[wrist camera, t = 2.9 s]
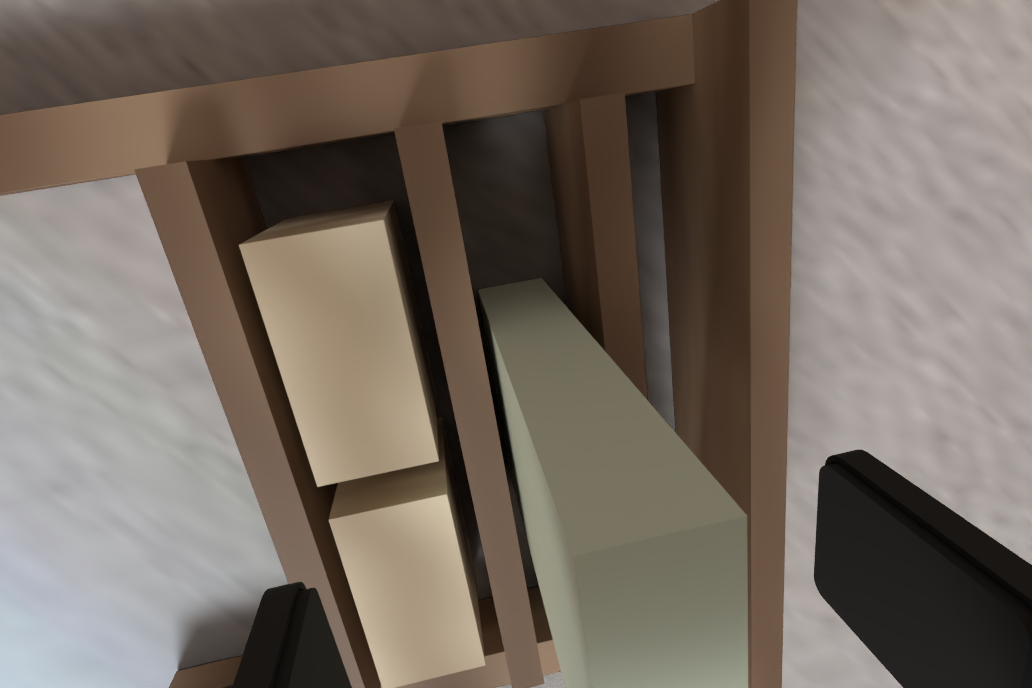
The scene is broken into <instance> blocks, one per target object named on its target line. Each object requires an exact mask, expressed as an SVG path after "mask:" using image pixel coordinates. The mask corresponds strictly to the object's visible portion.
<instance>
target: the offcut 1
mask: <svg viewBox="0 0 1032 688" xmlns="http://www.w3.org/2000/svg"><path fill="white" fill-rule="evenodd" d="M239 247H240V250H241V253H242V256H243V260H244V263H245V266H246V269H247V272H248V275H249V278H250V281H251V284H252V287H253V290H254V293H255V296H256V299H257V303H258V306H259V309H260V312H261V315H262V318H263V321H264V324H265V327H266V330H267V333H268V336H269V339H270V343H271V346H272V349H273V352H274V355H275V358H276V361H277V364H278V367H279V370H280V373H281V376H282V379H283V383H284V386H285V389H286V392H287V395H288V398H289V401H290V404H291V407H292V410H293V413H294V416H295V419H296V423H297V426H298V429H299V432H300V435H301V438H302V441H303V444H304V447H305V450H306V453H307V456H308V459H309V463H310V466H311V469H312V472H313V475H314V478H315V481H316V484H317V487H320V486H324V485H329V484H334V483H339V482H343V481H348V480H353V479H357V478H362V477H367V476H372V475H376V474H381V473H386V472H390V471H395V470H400V469H404V468H409V467H414V466H419V465H423V464H428V463H433V462H437V461H439V451H438V429H437V408H436V389H435V384H434V380H433V375H432V371H431V366H430V362H429V357H428V353H427V348H426V344H425V339H424V335H423V330H422V326H421V321H420V317H419V312H418V307H417V303H416V298H415V294H414V289H413V285H412V280H411V276H410V271H409V267H408V262H407V258H406V253H405V249H404V244H403V240H402V235H401V231H400V226H399V222H398V217H397V213H396V208H395V203H394V200H393V201H387V202H381V203H376V204H370V205H364V206H358V207H352V208H346V209H340V210H334V211H328V212H322V213H316V214H310V215H304V216H298V217H293V218H287V219H285V220H283V221H281V222H280V223H278V224H276V225H274V226H272V227H270V228H269V229H267V230H265V231H263V232H261V233H259V234H258V235H256V236H254V237H252V238H250V239H248V240H247V241H245V242H243V243H241V244H239Z"/></svg>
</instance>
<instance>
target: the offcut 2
mask: <svg viewBox="0 0 1032 688" xmlns="http://www.w3.org/2000/svg"><path fill="white" fill-rule="evenodd" d="M437 429H438V451H439V461H437V462H433V463H428V464H423V465H419V466H414V467H409V468H404V469H400V470H395V471H390V472H386V473H381V474H376V475H372V476H367V477H362V478H357V479H353V480H348V481H343V482H339V483H338V485H337V488H336V492H335V496H334V500H333V504H332V508H331V512H330V516H329V523H330V526H331V529H332V532H333V536H334V539H335V542H336V545H337V548H338V551H339V554H340V557H341V560H342V564H343V567H344V570H345V573H346V576H347V579H348V582H349V585H350V589H351V592H352V595H353V598H354V601H355V604H356V607H357V610H358V614H359V617H360V620H361V623H362V626H363V629H364V632H365V635H366V639H367V642H368V645H369V648H370V651H371V654H372V657H373V660H374V663H375V667H376V670H377V673H378V676H379V679H380V682H381V685H382V688H395V687H399V686H404V685H408V684H412V683H416V682H420V681H424V680H428V679H432V678H436V677H440V676H444V675H448V674H452V673H456V672H461V671H465V670H469V669H473V668H477V667H481V666H485V665H486V663H485V655H484V646H483V638H482V629H481V621H480V613H479V604H478V596H477V587H476V579H475V570H474V562H473V557H472V552H471V548H470V543H469V539H468V534H467V530H466V525H465V520H464V516H463V511H462V507H461V502H460V497H459V493H458V488H457V484H456V479H455V475H454V470H453V465H452V461H451V456H450V452H449V447H448V442H447V438H446V433H445V429H444V424H443V420H442V417H439V418H437Z"/></svg>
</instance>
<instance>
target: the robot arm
mask: <svg viewBox="0 0 1032 688" xmlns="http://www.w3.org/2000/svg"><path fill="white" fill-rule="evenodd" d="M814 580H815V584H816V587H817V589H818V591H819V593H820V594H821V596H822V597H823V598H824V599H825V601H826V602H827V603H828V604H829V605H830V606H831V607H832V608H833V610H834V611H835V612H836V613H837V614H838V615H839V616H840V617H841V618H842V620H843V621H844V622H845V623H846V624H847V625H848V626H849V627H850V629H851V630H852V631H853V632H854V633H855V634H856V635H857V636H858V637H859V639H860V640H861V641H862V642H863V643H864V644H865V645H866V646H867V648H868V649H869V650H870V651H871V652H872V653H873V654H874V655H875V656H876V658H877V659H878V660H879V661H880V662H881V663H882V664H883V665H884V667H885V668H886V669H887V670H888V671H889V672H890V673H891V674H892V675H893V677H894V678H895V679H896V680H897V681H898V682H899V683H900V684H901V686H902V687H903V688H1032V565H1031V564H1029V563H1028V562H1026V561H1025V560H1023V559H1022V558H1020V557H1019V556H1018V555H1016V554H1015V553H1013V552H1012V551H1010V550H1009V549H1007V548H1006V547H1004V546H1003V545H1002V544H1000V543H999V542H997V541H996V540H994V539H993V538H991V537H990V536H988V535H987V534H986V533H984V532H983V531H981V530H980V529H978V528H977V527H975V526H974V525H972V524H971V523H970V522H968V521H967V520H965V519H964V518H962V517H961V516H959V515H958V514H956V513H955V512H954V511H952V510H951V509H949V508H948V507H946V506H945V505H943V504H942V503H940V502H939V501H938V500H936V499H935V498H933V497H932V496H930V495H929V494H927V493H926V492H924V491H923V490H921V489H920V488H919V487H917V486H916V485H914V484H913V483H911V482H910V481H908V480H907V479H905V478H904V477H903V476H901V475H900V474H898V473H897V472H895V471H894V470H892V469H891V468H889V467H888V466H887V465H885V464H884V463H882V462H881V461H879V460H878V459H876V458H875V457H873V456H872V455H871V454H869V453H868V452H866V451H863V450H854V451H850V452H845V453H841V454H837V455H833V456H830V457H828V459H827V460H826V463H825V466H823V467H821V469H820V472H819V488H818V507H817V527H816V546H815V565H814ZM222 688H352V686H351V684H350V681H349V678H348V675H347V672H346V669H345V667H344V664H343V661H342V658H341V655H340V653H339V650H338V647H337V644H336V641H335V639H334V636H333V633H332V630H331V627H330V624H329V622H328V619H327V616H326V613H325V610H324V608H323V605H322V602H321V599H320V596H319V593H318V591H317V589H316V588H309V589H306V586H305V584H304V583H303V582H296V583H292V584H287V585H283V586H279V587H275V588H271V589H267V590H266V591H265V592H264V594H263V596H262V599H261V602H260V605H259V608H258V611H257V614H256V617H255V620H254V623H253V626H252V629H251V632H250V635H249V638H248V641H247V644H246V647H245V650H244V653H243V656H242V659H241V662H240V665H239V668H238V671H237V674H236V677H235V680H234V683H233V685H229V686H226V687H222Z"/></svg>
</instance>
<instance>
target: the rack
mask: <svg viewBox="0 0 1032 688" xmlns="http://www.w3.org/2000/svg"><path fill="white" fill-rule="evenodd" d="M796 20H797V0H720V1H718V2H716V3H714V4H712V5H710V6H708V7H706V8H703V9H701V10H699V11H697V12H695V13H693V14H688V15H681V16H674V17H668V18H661V19H654V20H647V21H640V22H633V23H626V24H620V25H613V26H606V27H599V28H592V29H585V30H579V31H572V32H565V33H558V34H551V35H544V36H537V37H531V38H524V39H517V40H510V41H503V42H496V43H490V44H483V45H476V46H469V47H462V48H455V49H448V50H442V51H435V52H428V53H421V54H414V55H407V56H401V57H394V58H387V59H380V60H373V61H366V62H359V63H353V64H346V65H339V66H332V67H325V68H318V69H312V70H305V71H298V72H291V73H284V74H277V75H271V76H264V77H257V78H250V79H243V80H236V81H229V82H223V83H216V84H209V85H202V86H195V87H188V88H182V89H175V90H168V91H161V92H154V93H147V94H140V95H134V96H127V97H120V98H113V99H106V100H99V101H93V102H86V103H79V104H72V105H65V106H58V107H51V108H45V109H38V110H31V111H24V112H17V113H10V114H4V115H0V196H1V195H8V194H14V193H20V192H27V191H33V190H39V189H46V188H52V187H58V186H65V185H71V184H77V183H84V182H90V181H96V180H103V179H109V178H115V177H121V176H128V175H134V174H136V175H137V178H138V181H139V184H140V186H141V189H142V192H143V194H144V197H145V200H146V202H147V205H148V208H149V210H150V213H151V216H152V218H153V221H154V224H155V226H156V229H157V232H158V235H159V237H160V240H161V243H162V245H163V248H164V251H165V253H166V256H167V259H168V261H169V264H170V267H171V269H172V272H173V275H174V277H175V280H176V283H177V286H178V288H179V291H180V294H181V296H182V299H183V302H184V304H185V307H186V310H187V312H188V315H189V318H190V320H191V323H192V326H193V328H194V331H195V334H196V337H197V339H198V342H199V345H200V347H201V350H202V353H203V355H204V358H205V361H206V363H207V366H208V369H209V371H210V374H211V377H212V379H213V382H214V385H215V388H216V390H217V393H218V396H219V398H220V401H221V404H222V406H223V409H224V412H225V414H226V417H227V420H228V422H229V425H230V428H231V430H232V433H233V436H234V438H235V441H236V444H237V447H238V449H239V452H240V455H241V457H242V460H243V463H244V465H245V468H246V471H247V473H248V476H249V479H250V481H251V484H252V487H253V489H254V492H255V495H256V498H257V500H258V503H259V506H260V508H261V511H262V514H263V516H264V519H265V522H266V524H267V527H268V530H269V532H270V535H271V538H272V540H273V543H274V546H275V549H276V551H277V554H278V557H279V559H280V562H281V565H282V567H283V570H284V573H285V575H286V578H287V581H288V583H289V584H292V583H296V582H303V583H304V584H305V586H306V589H309V588H316V589H317V591H318V593H319V596H320V599H321V602H322V605H323V608H324V610H325V613H326V616H327V619H328V622H329V624H330V627H331V630H332V633H333V636H334V639H335V641H336V644H337V647H338V650H339V653H340V655H341V658H342V661H343V664H344V667H345V669H346V672H347V675H348V678H349V681H350V684H351V686H352V688H382V685H381V682H380V679H379V676H378V673H377V670H376V667H375V663H374V660H373V657H372V654H371V651H370V648H369V645H368V642H367V639H366V635H365V632H364V629H363V626H362V623H361V620H360V617H359V614H358V610H357V607H356V604H355V601H354V598H353V595H352V592H351V589H350V585H349V582H348V579H347V576H346V573H345V570H344V567H343V564H342V560H341V557H340V554H339V551H338V548H337V545H336V542H335V539H334V536H333V532H332V529H331V526H330V523H329V516H330V512H331V508H332V504H333V500H334V496H335V492H336V488H337V485H338V483H334V484H329V485H324V486H320V487H317V484H316V481H315V478H314V475H313V472H312V469H311V466H310V463H309V459H308V456H307V453H306V450H305V447H304V444H303V441H302V438H301V435H300V432H299V429H298V426H297V423H296V419H295V416H294V413H293V410H292V407H291V404H290V401H289V398H288V395H287V392H286V389H285V386H284V383H283V379H282V376H281V373H280V370H279V367H278V364H277V361H276V358H275V355H274V352H273V349H272V346H271V343H270V339H269V336H268V333H267V330H266V327H265V324H264V321H263V318H262V315H261V312H260V309H259V306H258V303H257V299H256V296H255V293H254V290H253V287H252V284H251V281H250V278H249V275H248V272H247V269H246V266H245V263H244V260H243V256H242V253H241V250H240V247H239V244H241V243H243V242H245V241H247V240H248V239H250V238H252V237H254V236H256V235H258V234H259V233H261V232H263V231H265V230H267V228H266V225H265V222H264V219H263V215H262V212H261V209H260V205H259V202H258V199H257V195H256V192H255V189H254V186H253V182H252V179H251V176H250V172H249V169H248V166H247V163H246V159H245V157H248V156H254V155H261V154H267V153H273V152H280V151H286V150H292V149H299V148H305V147H311V146H318V145H324V144H330V143H337V142H343V141H349V140H355V139H362V138H368V137H374V136H381V135H387V134H393V133H395V137H396V142H397V147H398V151H399V156H400V161H401V165H402V170H403V175H404V180H405V184H406V189H407V194H408V198H409V203H410V208H411V213H412V217H413V222H414V227H415V231H416V236H417V241H418V246H419V250H420V255H421V260H422V264H423V269H424V274H425V279H426V283H427V288H428V293H429V298H430V302H431V307H432V312H433V316H434V321H435V326H436V331H437V335H438V340H439V345H440V349H441V354H442V359H443V364H444V368H445V373H446V378H447V382H448V387H449V392H450V397H451V401H452V406H453V411H454V415H455V420H456V425H457V430H458V434H459V439H460V444H461V449H462V453H463V458H464V463H465V467H466V472H467V477H468V482H469V486H470V491H471V496H472V500H473V505H474V510H475V515H476V519H477V524H478V529H479V533H480V538H481V543H482V548H483V552H484V557H485V562H486V567H487V571H488V576H489V581H490V585H491V590H492V595H493V597H489V598H485V599H481V600H478V604H479V613H480V621H481V629H482V638H483V646H484V655H485V663H486V665H485V666H481V667H477V668H473V669H469V670H465V671H461V672H456V673H452V674H448V675H444V676H440V677H436V678H432V679H428V680H424V681H420V682H416V683H412V684H408V685H404V686H399V687H395V688H496V687H500V686H504V685H508V684H512V688H529V687H533V686H537V685H541V684H544V679H543V676H544V675H548V674H552V673H556V672H560V671H561V669H560V666H559V662H558V658H557V654H556V650H555V646H554V642H553V638H552V634H551V630H550V627H549V623H548V619H547V615H546V611H545V607H544V603H543V599H542V595H541V592H540V588H539V586H536V587H532V588H528V589H527V586H526V581H525V575H524V570H523V564H522V559H521V553H520V548H519V543H518V537H517V532H516V526H515V521H514V515H513V510H512V504H511V499H510V493H509V488H508V482H507V477H506V472H505V466H504V461H503V455H502V450H501V444H500V439H499V433H498V428H497V422H496V417H495V412H494V406H493V401H492V395H491V390H490V384H489V379H488V373H487V368H486V362H485V357H484V352H483V346H482V341H481V335H480V330H479V324H478V319H477V313H476V308H475V302H474V297H473V292H472V286H471V281H470V275H469V270H468V264H467V259H466V253H465V248H464V242H463V237H462V231H461V226H460V221H459V215H458V210H457V204H456V199H455V193H454V188H453V182H452V177H451V171H450V166H449V161H448V155H447V150H446V144H445V139H444V133H443V128H442V126H444V125H450V124H457V123H463V122H469V121H476V120H482V119H488V118H495V117H501V116H507V115H514V114H520V113H526V112H533V111H539V110H544V118H545V127H546V135H547V143H548V151H549V159H550V167H551V175H552V184H553V192H554V200H555V208H556V216H557V224H558V232H559V240H560V249H561V257H562V265H563V273H564V281H565V289H566V297H567V306H568V309H569V310H570V311H571V313H572V314H573V315H574V316H575V317H576V318H577V319H578V321H579V322H580V323H581V324H582V325H583V326H584V328H585V329H586V330H587V331H588V332H589V333H590V335H591V336H592V337H593V338H594V339H595V340H596V341H597V343H598V344H599V345H600V346H601V347H602V348H603V350H604V351H605V352H606V353H607V354H608V355H609V356H610V358H611V359H612V360H613V361H614V362H615V363H616V365H617V366H618V367H619V368H620V369H621V370H622V371H623V373H624V374H625V375H626V376H627V377H628V378H629V380H630V381H631V382H632V383H633V384H634V385H635V387H636V388H637V389H638V390H639V391H640V392H641V393H642V395H643V396H644V397H645V398H646V399H647V400H648V397H647V384H646V370H645V357H644V344H643V330H642V317H641V304H640V291H639V277H638V264H637V251H636V237H635V224H634V211H633V197H632V184H631V171H630V158H629V144H628V131H627V118H626V104H625V97H627V96H634V95H640V94H646V93H653V92H656V101H657V119H658V136H659V154H660V171H661V189H662V206H663V224H664V241H665V258H666V276H667V293H668V311H669V328H670V346H671V363H672V381H673V398H674V416H675V433H676V434H677V435H678V436H679V437H680V439H681V440H682V441H683V442H684V443H685V444H686V445H687V447H688V448H689V449H690V450H691V451H692V452H693V454H694V455H695V456H696V457H697V458H698V459H699V460H700V462H701V463H702V464H703V465H704V466H705V467H706V469H707V470H708V471H709V472H710V473H711V474H712V476H713V477H714V478H715V479H716V480H717V481H718V482H719V484H720V485H721V486H722V487H723V488H724V489H725V491H726V492H727V493H728V494H729V495H730V496H731V497H732V499H733V500H734V501H735V502H736V503H737V504H738V506H739V507H740V508H741V509H742V510H743V511H744V512H745V514H746V515H747V565H748V688H782V647H783V602H784V557H785V513H786V468H787V423H788V378H789V334H790V289H791V244H792V199H793V154H794V110H795V65H796ZM241 659H242V656H239V657H234V658H230V659H226V660H222V661H217V662H213V663H209V664H205V665H200V666H196V667H192V668H188V669H183V670H179V671H177V672H176V674H175V676H174V678H173V680H172V682H171V684H170V686H169V688H222V687H226V686H229V685H233V683H234V680H235V677H236V674H237V671H238V668H239V665H240V662H241Z"/></svg>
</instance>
